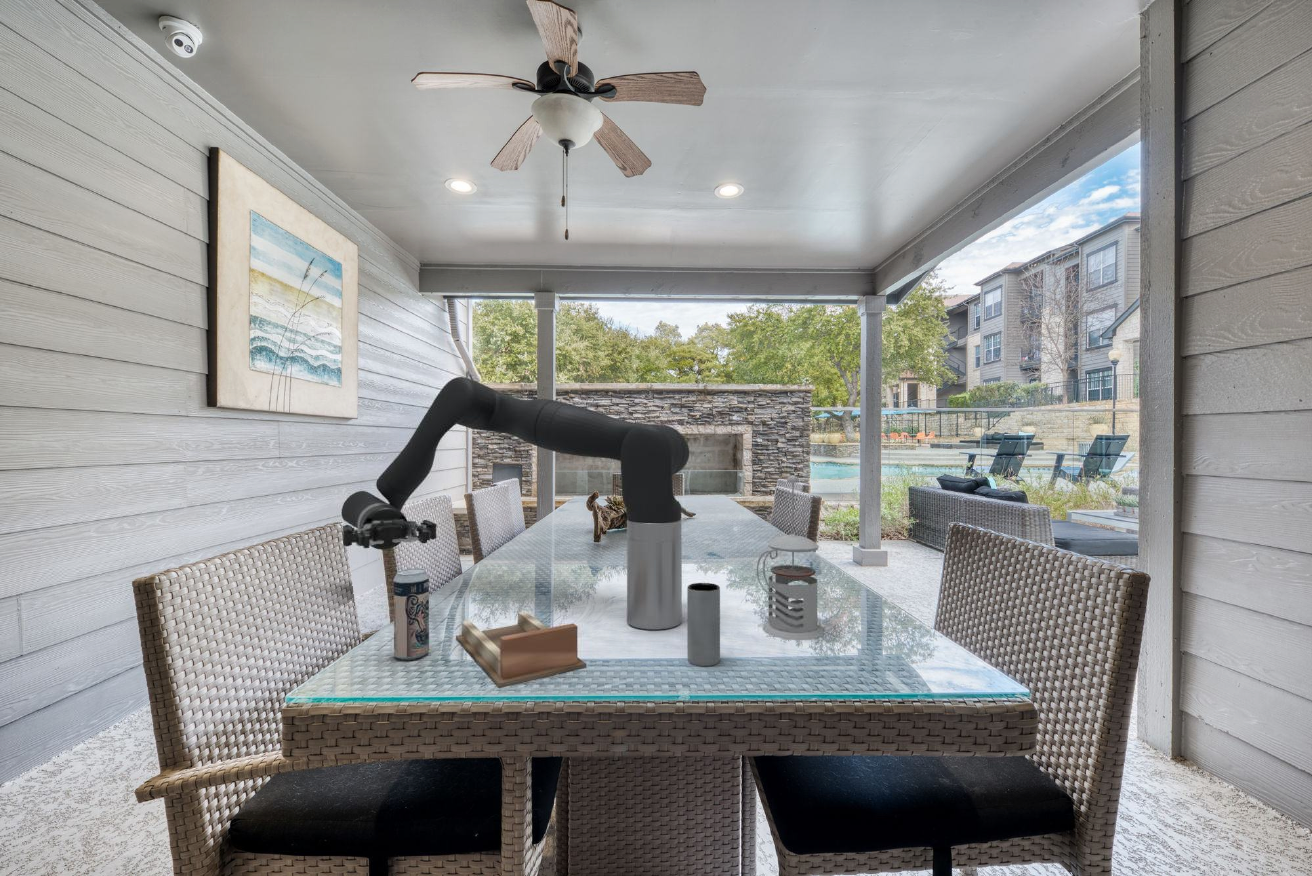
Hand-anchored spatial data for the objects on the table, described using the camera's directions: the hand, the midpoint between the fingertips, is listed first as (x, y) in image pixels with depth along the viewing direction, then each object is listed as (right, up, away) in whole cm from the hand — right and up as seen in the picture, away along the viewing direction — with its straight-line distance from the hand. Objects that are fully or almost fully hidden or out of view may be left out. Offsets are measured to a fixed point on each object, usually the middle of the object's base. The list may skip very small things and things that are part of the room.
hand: (396, 539), depth 93 cm
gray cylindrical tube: (+48, -15, -11) cm, 51 cm away
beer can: (+6, -15, -10) cm, 19 cm away
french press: (+63, -15, +2) cm, 65 cm away
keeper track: (+21, -15, -9) cm, 27 cm away
